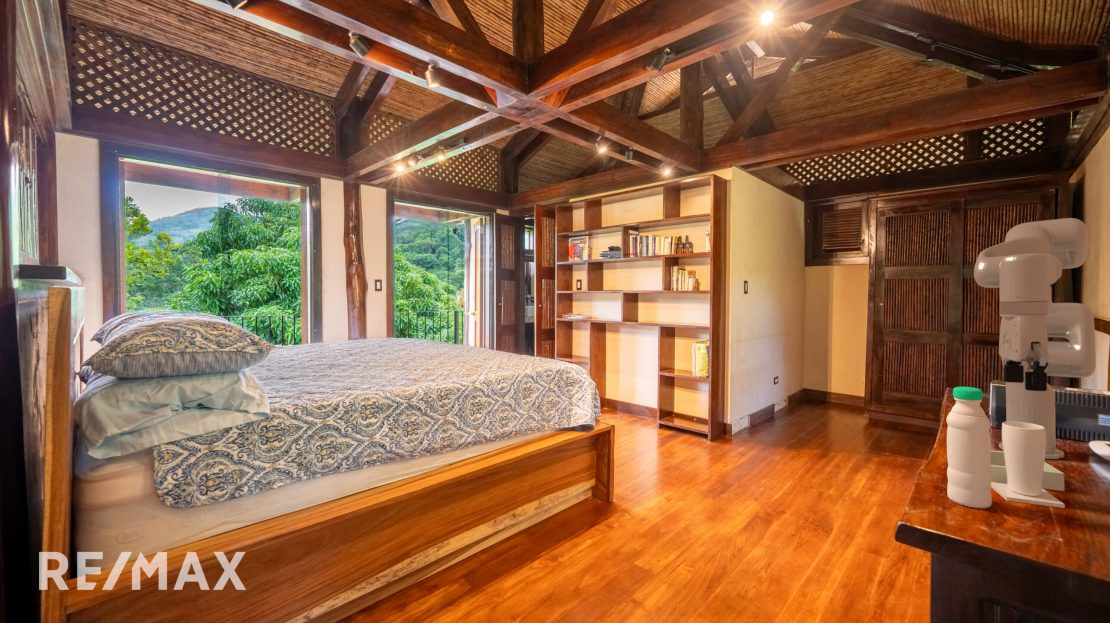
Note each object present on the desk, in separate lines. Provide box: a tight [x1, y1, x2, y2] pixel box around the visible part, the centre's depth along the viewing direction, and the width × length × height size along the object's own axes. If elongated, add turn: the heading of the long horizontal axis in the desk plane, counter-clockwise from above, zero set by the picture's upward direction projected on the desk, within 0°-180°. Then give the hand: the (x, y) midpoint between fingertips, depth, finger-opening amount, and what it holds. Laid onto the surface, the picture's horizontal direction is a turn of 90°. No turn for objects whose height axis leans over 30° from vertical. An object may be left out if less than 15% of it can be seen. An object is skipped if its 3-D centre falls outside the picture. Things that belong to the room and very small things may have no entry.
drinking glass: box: [1001, 421, 1046, 496], centre depth 99 cm, size 7×7×15 cm
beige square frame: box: [990, 449, 1065, 492], centre depth 110 cm, size 14×14×4 cm
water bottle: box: [946, 386, 993, 509], centre depth 96 cm, size 7×7×25 cm
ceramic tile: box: [990, 482, 1066, 509], centre depth 99 cm, size 9×9×1 cm
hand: (1024, 386), depth 99 cm, fingers open, 9 cm apart
